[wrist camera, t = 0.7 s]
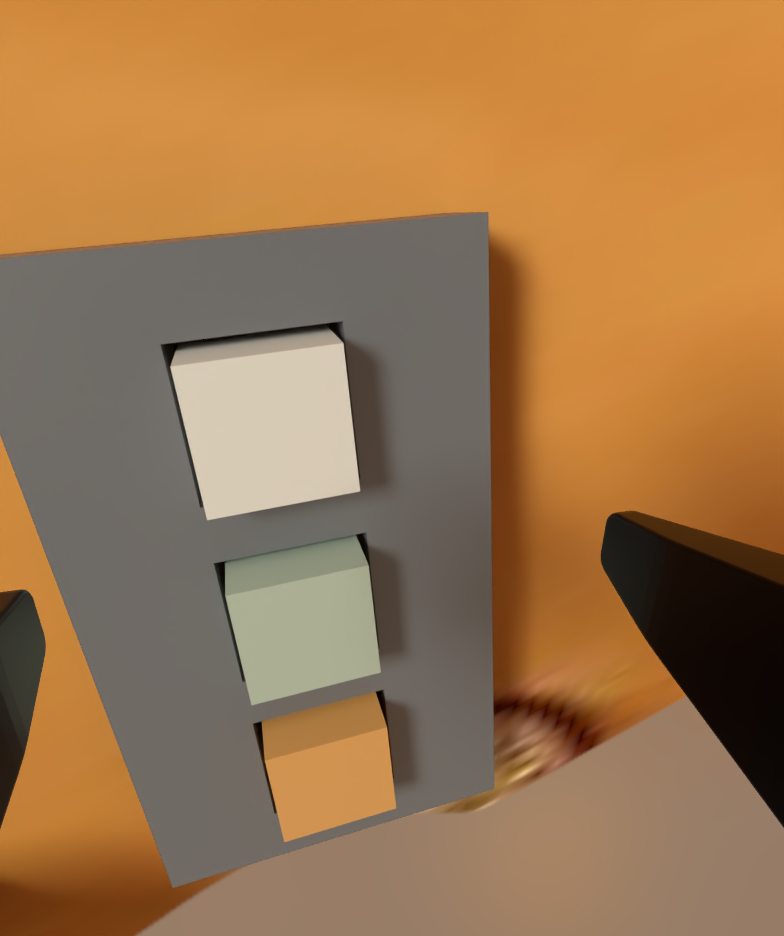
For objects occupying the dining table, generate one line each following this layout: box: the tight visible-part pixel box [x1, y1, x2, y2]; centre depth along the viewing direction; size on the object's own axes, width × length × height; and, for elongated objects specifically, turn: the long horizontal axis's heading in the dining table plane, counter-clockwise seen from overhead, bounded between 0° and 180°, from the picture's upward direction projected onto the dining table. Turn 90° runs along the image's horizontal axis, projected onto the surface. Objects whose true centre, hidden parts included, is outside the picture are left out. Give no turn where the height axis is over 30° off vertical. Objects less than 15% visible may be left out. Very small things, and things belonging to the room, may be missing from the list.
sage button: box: [225, 535, 381, 705], centre depth 20 cm, size 4×4×3 cm
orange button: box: [262, 692, 396, 842], centre depth 23 cm, size 4×4×3 cm
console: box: [0, 212, 494, 888], centre depth 22 cm, size 14×24×3 cm, turn 5°
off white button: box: [170, 324, 360, 520], centre depth 17 cm, size 4×4×3 cm
